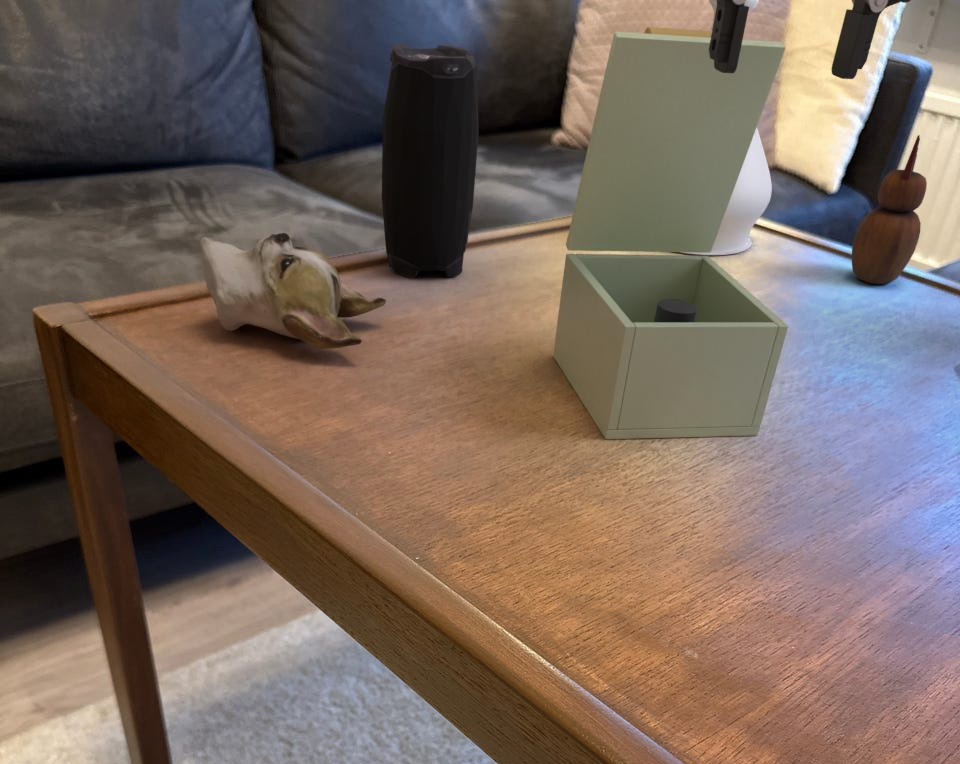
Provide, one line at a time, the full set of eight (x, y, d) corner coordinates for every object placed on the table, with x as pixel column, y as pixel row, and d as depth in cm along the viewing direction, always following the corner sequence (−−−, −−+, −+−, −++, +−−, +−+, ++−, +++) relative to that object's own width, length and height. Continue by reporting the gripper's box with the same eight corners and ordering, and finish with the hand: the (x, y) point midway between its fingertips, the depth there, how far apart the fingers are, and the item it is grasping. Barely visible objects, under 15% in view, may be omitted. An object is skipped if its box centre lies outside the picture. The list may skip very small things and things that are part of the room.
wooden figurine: (880, 293, 107) (930, 141, 97) (834, 276, 110) (879, 128, 100) (911, 282, 110) (963, 136, 101) (866, 267, 113) (912, 123, 104)
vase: (594, 212, 122) (629, -29, 107) (721, 214, 127) (772, -18, 111) (645, 258, 109) (692, -8, 94) (784, 258, 114) (852, 3, 98)
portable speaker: (364, 266, 100) (364, 45, 88) (422, 248, 106) (430, 39, 94) (429, 289, 97) (439, 61, 84) (485, 268, 103) (502, 53, 91)
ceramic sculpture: (222, 199, 84) (393, 232, 84) (225, 298, 90) (385, 329, 89) (175, 237, 76) (363, 273, 76) (181, 343, 82) (357, 377, 81)
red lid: (649, 369, 83) (665, 283, 79) (718, 398, 80) (740, 310, 75) (598, 391, 79) (613, 301, 75) (669, 422, 76) (689, 330, 71)
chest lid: (786, 47, 69) (763, 13, 72) (617, 36, 67) (599, 2, 69) (710, 252, 83) (693, 217, 85) (567, 250, 80) (554, 214, 83)
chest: (758, 435, 77) (789, 326, 71) (605, 439, 74) (625, 326, 69) (686, 354, 89) (708, 255, 83) (552, 356, 86) (565, 253, 81)
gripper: (771, -276, 50) (704, 81, 61) (1012, -247, 53) (910, 90, 63) (716, -266, 56) (663, 59, 66) (937, -241, 59) (854, 68, 69)
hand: (784, 74), depth 65 cm, fingers open, 8 cm apart
